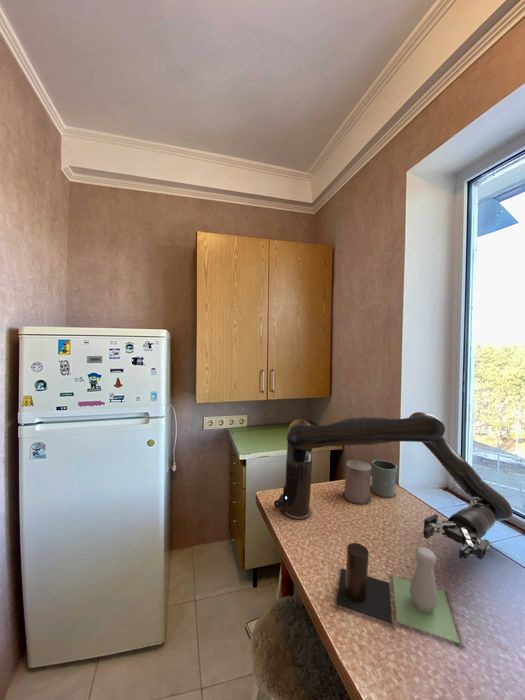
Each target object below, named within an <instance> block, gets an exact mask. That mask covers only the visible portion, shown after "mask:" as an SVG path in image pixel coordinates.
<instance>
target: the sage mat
mask: <svg viewBox="0 0 525 700" xmlns="http://www.w3.org/2000/svg"><path fill="white" fill-rule="evenodd" d="M392 584H393V596H394V606H395V608H394V609H395V618H396V623H399V624H402V625H404V626H408V627H411V628H414V629H416V630H418V631H419V630H420V631H422V632H425V633H428V634H431V635H434V636H437V637H440V638H443V639H446V640H448V641H450V642H453V643H454V645H456V646H460V639H459V636H458V633H457V629H456V626H455V623H454V619H453V616H452V613H451V608H450V606H449V602H448V599H447V595H446V591H445V590H444V589H443V590H442V589H439V588H436V592H437V599H438V601H437V605H436V606H435V607H434V608H433V609H432V610H431V612H430V613H428V612H423V611H420V610H419V609H418V608H417V607H416V606H415V605H414V603H413V600H412V597H411V594H410V587H411V584H412V580H409V579H405V578H402V577H397V576H395V575H392Z"/></svg>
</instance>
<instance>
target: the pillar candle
mask: <svg viewBox="0 0 525 700" xmlns="http://www.w3.org/2000/svg"><path fill="white" fill-rule="evenodd" d="M344 478H345V479H344V493H343V494H344V498H345V499H346V500H347V501H348V502H351V503H354V504H358V505H364V504H368V503H369V502H370V495H371V479H372V465H371V464H369V462H366V461H364V460H359V459H350V460H349V459H348V460H346V462H345V476H344Z"/></svg>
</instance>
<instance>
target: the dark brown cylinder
mask: <svg viewBox="0 0 525 700" xmlns="http://www.w3.org/2000/svg"><path fill="white" fill-rule="evenodd" d="M369 556H370V554H369V549H368V548H367V547H366V546H365V545H363V544H361V543H357V542H352V543H349V544H348V545H347V546H346V564H345V570H346V580H345V593H346V595H347V597H348V598H349V599H350V600H352V601H354V602H359V603H360V602H363V601H365V599H366V591H367V576H368V571H369V570H368V569H369Z"/></svg>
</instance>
